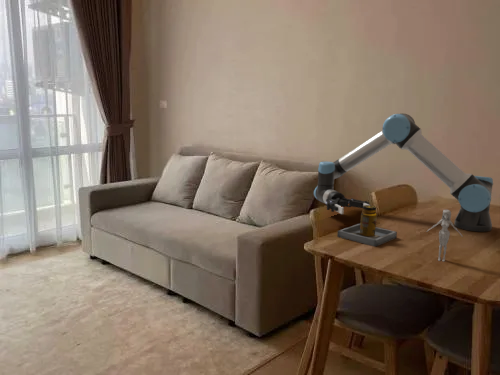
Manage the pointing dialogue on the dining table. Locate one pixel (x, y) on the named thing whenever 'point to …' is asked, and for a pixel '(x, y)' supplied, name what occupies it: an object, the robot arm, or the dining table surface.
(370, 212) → the condiment
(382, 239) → the holder
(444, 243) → the human figurine
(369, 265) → the dining table surface
